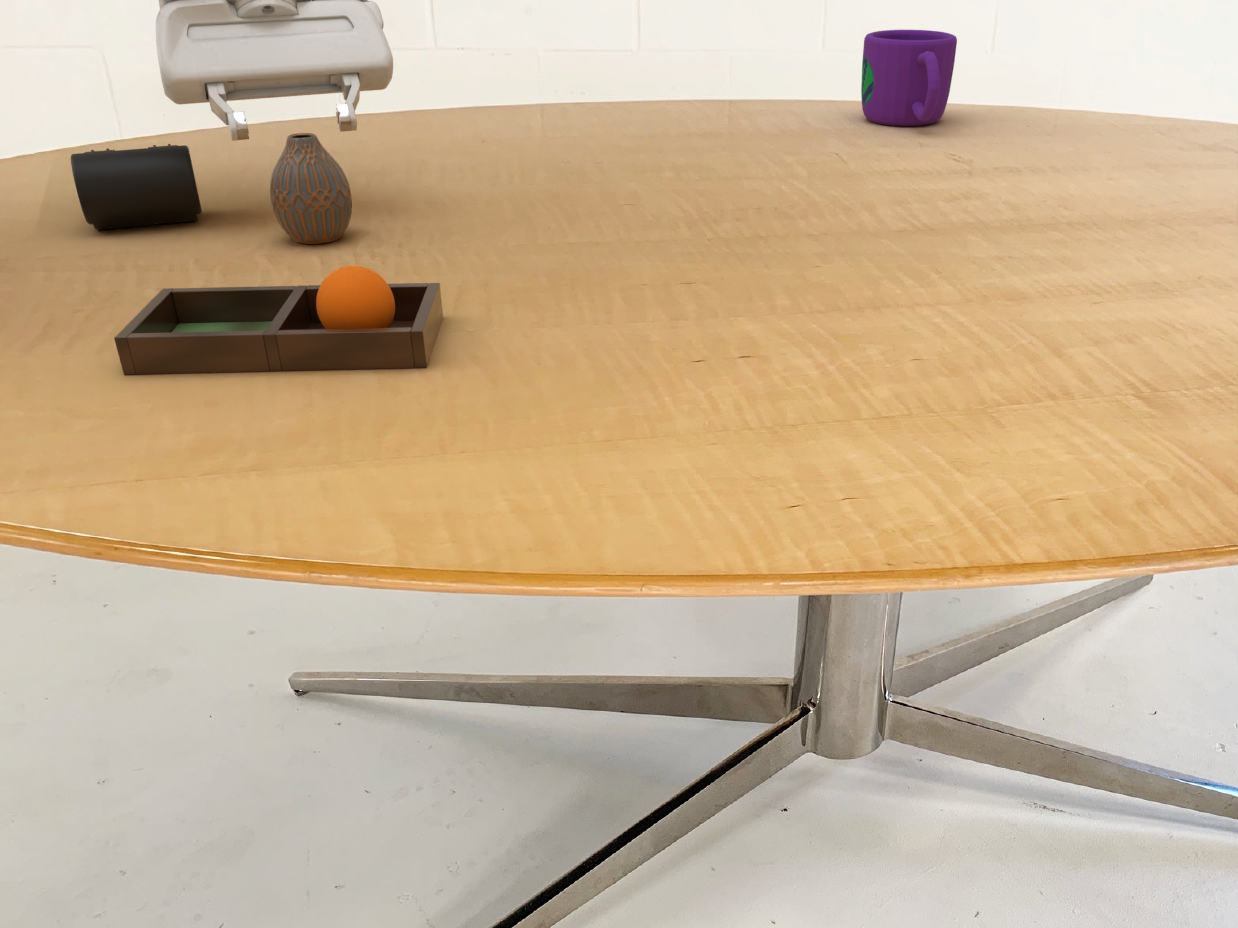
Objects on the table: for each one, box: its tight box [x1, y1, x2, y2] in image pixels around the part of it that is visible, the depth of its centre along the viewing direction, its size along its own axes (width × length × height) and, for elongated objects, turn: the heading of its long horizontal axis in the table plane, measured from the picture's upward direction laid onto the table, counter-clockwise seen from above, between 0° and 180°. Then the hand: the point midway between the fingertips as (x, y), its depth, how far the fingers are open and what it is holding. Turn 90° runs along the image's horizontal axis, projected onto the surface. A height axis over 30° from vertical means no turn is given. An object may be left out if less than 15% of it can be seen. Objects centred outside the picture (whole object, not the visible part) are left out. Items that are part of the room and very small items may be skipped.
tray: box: [114, 282, 444, 377], centre depth 80 cm, size 20×10×3 cm, turn 93°
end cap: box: [70, 143, 203, 231], centre depth 108 cm, size 10×7×7 cm
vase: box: [269, 132, 353, 245], centre depth 103 cm, size 7×7×9 cm
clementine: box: [316, 265, 395, 329], centre depth 79 cm, size 5×5×5 cm
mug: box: [860, 29, 958, 127], centre depth 145 cm, size 17×11×10 cm, turn 6°
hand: (295, 131), depth 104 cm, fingers open, 8 cm apart
